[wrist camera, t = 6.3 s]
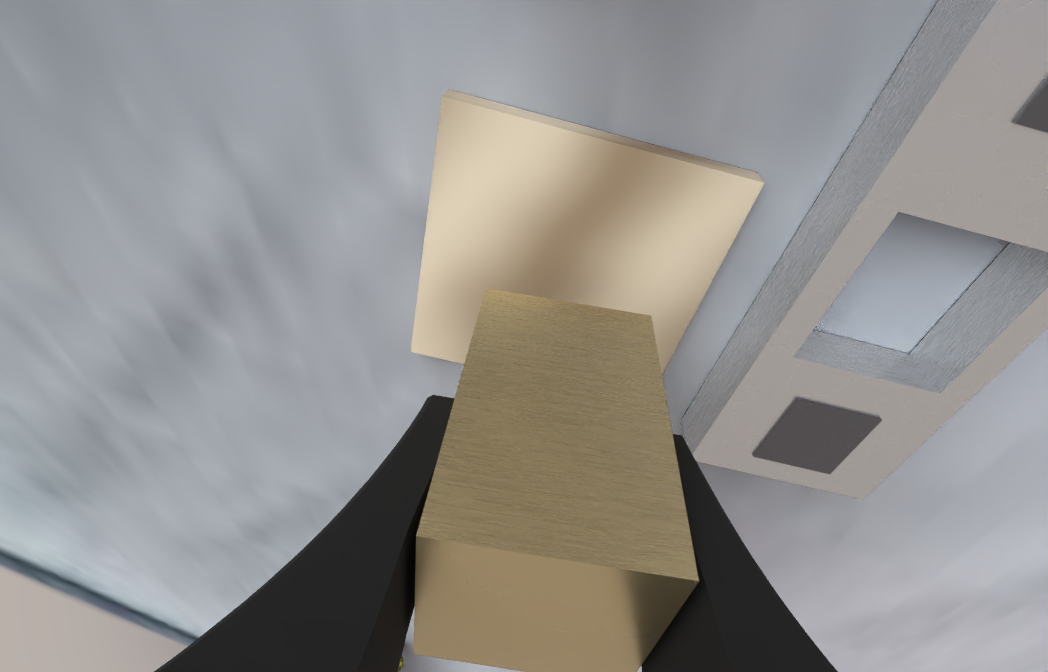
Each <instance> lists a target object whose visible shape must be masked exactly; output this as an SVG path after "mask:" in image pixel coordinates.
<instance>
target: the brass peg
mask: <svg viewBox="0 0 1048 672" xmlns="http://www.w3.org/2000/svg"><path fill="white" fill-rule="evenodd" d="M698 582H699V579H698V573H697V567H696V562H695V556H694V551H693V545H692V540H691V534H690V528H689V523H688V517H687V512H686V506H685V501H684V495H683V489H682V484H681V478H680V473H679V467H678V462H677V456H676V450H675V445H674V439H673V434H672V428H671V423H670V417H669V412H668V406H667V400H666V395H665V389H664V384H663V378H662V373H661V367H660V361H659V356H658V350H657V345H656V339H655V334H654V328H653V322H652V317H651V316H650V315H644V314H638V313H632V312H626V311H620V310H614V309H608V308H602V307H596V306H590V305H584V304H578V303H572V302H566V301H560V300H554V299H548V298H542V297H536V296H530V295H524V294H518V293H512V292H506V291H500V290H494V289H488V288H486V289H485V292H484V296H483V299H482V303H481V306H480V310H479V314H478V317H477V321H476V324H475V328H474V331H473V335H472V338H471V342H470V346H469V349H468V353H467V356H466V360H465V363H464V367H463V371H462V374H461V378H460V381H459V385H458V388H457V392H456V395H455V399H454V403H453V406H452V410H451V413H450V417H449V420H448V424H447V428H446V431H445V435H444V438H443V442H442V445H441V449H440V452H439V456H438V460H437V463H436V467H435V470H434V474H433V477H432V481H431V485H430V488H429V492H428V495H427V499H426V502H425V506H424V510H423V513H422V517H421V520H420V524H419V527H418V531H417V534H416V566H415V617H414V654H416V655H423V656H429V657H435V658H442V659H448V660H454V661H461V662H467V663H473V664H480V665H486V666H492V667H499V668H505V669H511V670H518V671H524V672H637V671H638V669H639V668H640V666H641V665H642V664H643V662H644V661H645V659H646V658H647V656H648V655H649V653H650V652H651V650H652V649H653V648H654V646H655V645H656V643H657V642H658V640H659V639H660V637H661V636H662V634H663V633H664V632H665V630H666V629H667V627H668V626H669V624H670V623H671V621H672V620H673V618H674V617H675V616H676V614H677V613H678V611H679V610H680V608H681V607H682V605H683V604H684V602H685V601H686V600H687V598H688V597H689V595H690V594H691V592H692V591H693V589H694V588H695V586H696V585H697V584H698Z"/></svg>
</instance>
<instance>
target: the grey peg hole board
mask: <svg viewBox="0 0 1048 672" xmlns="http://www.w3.org/2000/svg"><path fill="white" fill-rule="evenodd" d="M898 212H901V213H905V214H908V215H912V216H916V217H919V218H923V219H927V220H931V221H934V222H938V223H942V224H945V225H949V226H953V227H957V228H960V229H964V230H968V231H971V232H975V233H979V234H983V235H986V236H990V237H994V238H997V239H1001V240H1005V241H1009V242H1010V243H1009V244H1008V245H1007V246H1006V247H1005V249H1004V250H1003V251H1002V252H1001V253H1000V254H999V255H998V256H997V257H996V259H995V260H994V261H993V262H992V263H991V264H990V265H989V266H988V267H987V268H986V270H985V271H984V272H983V273H982V274H981V275H980V276H979V277H978V278H977V280H976V281H975V282H974V283H973V284H972V285H971V286H970V287H969V288H968V289H967V291H966V292H965V293H964V294H963V295H962V296H961V297H960V298H959V299H958V300H957V302H956V303H955V304H954V305H953V306H952V307H951V308H950V309H949V310H948V312H947V313H946V314H945V315H944V316H943V317H942V318H941V319H940V320H939V321H938V323H937V324H936V325H935V326H934V327H933V328H932V329H931V330H930V331H929V333H928V334H927V335H926V336H925V337H924V338H923V339H922V340H921V341H920V342H919V344H918V345H917V346H916V347H915V348H914V349H913V350H912V351H911V352H910V354H907V353H903V352H899V351H896V350H892V349H888V348H884V347H880V346H876V345H872V344H868V343H864V342H860V341H856V340H852V339H848V338H844V337H840V336H836V335H832V334H828V333H824V332H820V331H816V330H813V329H814V328H815V326H816V325H817V323H818V322H819V321H820V319H821V318H822V317H823V315H824V314H825V312H826V311H827V310H828V308H829V307H830V306H831V304H832V303H833V301H834V300H835V299H836V297H837V296H838V295H839V293H840V292H841V290H842V289H843V288H844V286H845V285H846V284H847V282H848V281H849V279H850V278H851V277H852V275H853V274H854V273H855V271H856V270H857V268H858V267H859V266H860V264H861V263H862V262H863V260H864V259H865V257H866V256H867V255H868V253H869V252H870V251H871V249H872V248H873V246H874V245H875V244H876V242H877V241H878V240H879V238H880V237H881V235H882V234H883V233H884V231H885V230H886V229H887V227H888V226H889V224H890V223H891V222H892V220H893V219H894V218H895V216H896V215H897V213H898ZM1047 328H1048V0H938V2H937V3H936V5H935V7H934V8H933V10H932V12H931V13H930V15H929V16H928V18H927V20H926V21H925V23H924V25H923V26H922V28H921V30H920V31H919V33H918V34H917V36H916V38H915V39H914V41H913V43H912V44H911V46H910V47H909V49H908V51H907V52H906V54H905V56H904V57H903V59H902V61H901V62H900V64H899V65H898V67H897V69H896V70H895V72H894V74H893V75H892V77H891V79H890V80H889V82H888V83H887V85H886V87H885V88H884V90H883V92H882V93H881V95H880V96H879V98H878V100H877V101H876V103H875V105H874V106H873V108H872V110H871V111H870V113H869V114H868V116H867V118H866V119H865V121H864V123H863V124H862V126H861V128H860V129H859V131H858V132H857V134H856V136H855V137H854V139H853V141H852V142H851V144H850V146H849V147H848V149H847V150H846V152H845V154H844V155H843V157H842V159H841V160H840V162H839V163H838V165H837V167H836V168H835V170H834V172H833V173H832V175H831V177H830V178H829V180H828V181H827V183H826V185H825V186H824V188H823V190H822V191H821V193H820V195H819V196H818V198H817V199H816V201H815V203H814V204H813V206H812V208H811V209H810V211H809V212H808V214H807V216H806V217H805V219H804V221H803V222H802V224H801V226H800V227H799V229H798V230H797V232H796V234H795V235H794V237H793V239H792V240H791V242H790V244H789V245H788V247H787V248H786V250H785V252H784V253H783V255H782V257H781V258H780V260H779V261H778V263H777V265H776V266H775V268H774V270H773V271H772V273H771V275H770V276H769V278H768V279H767V281H766V283H765V284H764V286H763V288H762V289H761V291H760V293H759V294H758V296H757V297H756V299H755V301H754V302H753V304H752V306H751V307H750V309H749V311H748V312H747V314H746V315H745V317H744V319H743V320H742V322H741V324H740V325H739V327H738V328H737V330H736V332H735V333H734V335H733V337H732V338H731V340H730V342H729V343H728V345H727V346H726V348H725V350H724V351H723V353H722V355H721V356H720V358H719V360H718V361H717V363H716V364H715V366H714V368H713V369H712V371H711V373H710V374H709V376H708V377H707V379H706V381H705V382H704V384H703V386H702V387H701V389H700V391H699V392H698V394H697V395H696V397H695V399H694V400H693V402H692V404H691V405H690V407H689V409H688V410H687V412H686V413H685V415H684V417H683V418H682V420H681V422H682V427H683V432H684V437H685V442H686V443H687V445H688V447H689V449H690V451H691V453H692V455H693V457H694V458H695V460H696V461H697V462H702V463H706V464H710V465H715V466H719V467H723V468H728V469H732V470H736V471H741V472H745V473H750V474H754V475H758V476H763V477H767V478H771V479H776V480H780V481H784V482H789V483H793V484H798V485H802V486H806V487H811V488H815V489H819V490H824V491H828V492H832V493H837V494H841V495H846V496H850V497H854V498H859V499H863V498H865V497H866V496H867V495H868V494H869V493H870V492H871V491H872V490H873V489H874V488H875V487H876V486H877V485H879V484H880V483H881V482H882V481H883V480H884V479H885V478H886V477H887V476H888V475H889V474H890V473H891V472H893V471H894V470H895V469H896V468H897V467H898V466H899V465H900V464H901V463H902V462H903V461H904V460H905V459H907V458H908V457H909V456H910V455H911V454H912V453H913V452H914V451H915V450H916V449H917V448H918V447H919V446H921V445H922V444H923V443H924V442H925V441H926V440H927V439H928V438H929V437H930V436H931V435H932V434H934V433H935V432H936V431H937V430H938V429H939V428H940V427H941V426H942V425H943V424H944V423H945V422H946V421H948V420H949V419H950V418H951V417H952V416H953V415H954V414H955V413H956V412H957V411H958V410H959V409H960V408H962V407H963V406H964V405H965V404H966V403H967V402H968V401H969V400H970V399H971V398H972V397H973V396H974V395H976V394H977V393H978V392H979V391H980V390H981V389H982V388H983V387H984V386H985V385H986V384H987V383H988V382H990V381H991V380H992V379H993V378H994V377H995V376H996V375H997V374H998V373H999V372H1000V371H1001V370H1002V369H1004V368H1005V367H1006V366H1007V365H1008V364H1009V363H1010V362H1011V361H1012V360H1013V359H1014V358H1015V357H1016V356H1018V355H1019V354H1020V353H1021V352H1022V351H1023V350H1024V349H1025V348H1026V347H1027V346H1028V345H1029V344H1030V343H1032V342H1033V341H1034V340H1035V339H1036V338H1037V337H1038V336H1039V335H1040V334H1041V333H1042V332H1043V331H1044V330H1046V329H1047Z"/></svg>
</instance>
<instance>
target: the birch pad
mask: <svg viewBox="0 0 1048 672" xmlns="http://www.w3.org/2000/svg"><path fill="white" fill-rule="evenodd" d="M763 185H764V182H763V180H762V179H761V177H760V176H759V175H758V173H757V172H753V171H749V170H745V169H742V168H738V167H734V166H731V165H727V164H723V163H720V162H716V161H712V160H708V159H705V158H701V157H697V156H694V155H690V154H686V153H682V152H679V151H675V150H671V149H668V148H664V147H660V146H656V145H653V144H649V143H645V142H642V141H638V140H634V139H630V138H627V137H623V136H619V135H616V134H612V133H608V132H605V131H601V130H597V129H593V128H590V127H586V126H582V125H579V124H575V123H571V122H567V121H564V120H560V119H556V118H553V117H549V116H545V115H541V114H538V113H534V112H530V111H527V110H523V109H519V108H515V107H512V106H508V105H504V104H501V103H497V102H493V101H490V100H486V99H482V98H478V97H475V96H471V95H467V94H464V93H460V92H456V91H452V90H448V91H447V92H446V93H445V94H444V95H443V96H442V103H441V111H440V119H439V127H438V135H437V143H436V151H435V159H434V167H433V175H432V183H431V191H430V199H429V207H428V215H427V223H426V231H425V240H424V248H423V256H422V264H421V272H420V280H419V288H418V296H417V304H416V312H415V320H414V328H413V336H412V344H411V352H414V353H418V354H423V355H427V356H431V357H435V358H440V359H444V360H448V361H452V362H457V363H461V364H464V363H465V360H466V356H467V353H468V349H469V346H470V342H471V338H472V335H473V331H474V328H475V324H476V321H477V317H478V314H479V310H480V306H481V303H482V299H483V296H484V292H485V289H486V288H488V289H494V290H500V291H506V292H512V293H518V294H524V295H530V296H536V297H542V298H548V299H554V300H560V301H566V302H572V303H578V304H584V305H590V306H596V307H602V308H608V309H614V310H620V311H626V312H632V313H638V314H644V315H650V316H651V317H652V322H653V328H654V334H655V339H656V345H657V350H658V356H659V361H660V367H661V373H662V374H663V372H664V370H665V368H666V366H667V364H668V362H669V360H670V359H671V357H672V355H673V353H674V351H675V349H676V347H677V346H678V344H679V342H680V340H681V338H682V336H683V334H684V332H685V331H686V329H687V327H688V325H689V323H690V321H691V319H692V318H693V316H694V314H695V312H696V310H697V308H698V306H699V304H700V303H701V301H702V299H703V297H704V295H705V293H706V291H707V290H708V288H709V286H710V284H711V282H712V280H713V278H714V276H715V275H716V273H717V271H718V269H719V267H720V265H721V263H722V262H723V260H724V258H725V256H726V254H727V252H728V250H729V248H730V247H731V245H732V243H733V241H734V239H735V237H736V235H737V234H738V232H739V230H740V228H741V226H742V224H743V222H744V220H745V219H746V217H747V215H748V213H749V211H750V209H751V207H752V205H753V204H754V202H755V200H756V198H757V196H758V194H759V192H760V191H761V189H762V187H763Z"/></svg>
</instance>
